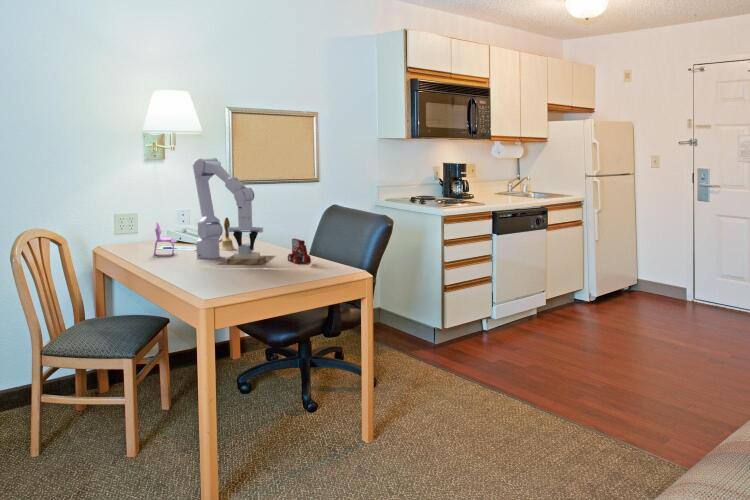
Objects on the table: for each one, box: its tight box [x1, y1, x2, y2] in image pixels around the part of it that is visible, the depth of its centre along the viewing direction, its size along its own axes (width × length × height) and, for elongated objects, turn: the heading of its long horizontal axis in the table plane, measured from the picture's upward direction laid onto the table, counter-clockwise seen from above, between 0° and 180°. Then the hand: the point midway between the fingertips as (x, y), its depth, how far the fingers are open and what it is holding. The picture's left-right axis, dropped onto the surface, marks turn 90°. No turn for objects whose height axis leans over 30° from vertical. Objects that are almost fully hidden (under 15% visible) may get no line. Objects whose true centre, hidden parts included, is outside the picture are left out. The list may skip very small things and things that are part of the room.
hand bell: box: [219, 217, 236, 252], centre depth 278 cm, size 8×8×16 cm
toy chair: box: [153, 221, 175, 257], centre depth 268 cm, size 8×9×15 cm
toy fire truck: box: [287, 238, 312, 265], centre depth 249 cm, size 7×12×10 cm, turn 32°
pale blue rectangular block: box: [237, 242, 255, 254], centre depth 247 cm, size 4×9×3 cm, turn 176°
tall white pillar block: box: [233, 251, 261, 259], centre depth 248 cm, size 10×4×4 cm, turn 87°
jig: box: [216, 254, 276, 266], centre depth 253 cm, size 20×22×3 cm
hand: (246, 249), depth 247 cm, fingers open, 4 cm apart
